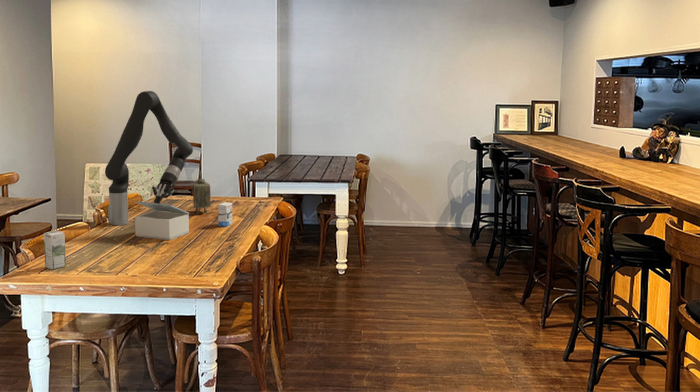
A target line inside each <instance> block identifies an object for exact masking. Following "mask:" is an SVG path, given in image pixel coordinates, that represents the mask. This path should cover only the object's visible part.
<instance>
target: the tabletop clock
mask: <svg viewBox="0 0 700 392" xmlns="http://www.w3.org/2000/svg"><path fill="white" fill-rule="evenodd" d="M202 176H203V175H202V170H200V171H199V178H197V179H196V182H192V195H193V197H192V200H193V201H192V202H193V203H192V205H193V208H194V210H195V211H196V215H199V214H200V210H201V209H202V208H203V209H204V210H203V212H204V213H207V212H208V211H207V209H206V208H208V207H211V203H212V202H211V185H210V183H208V182H206V180H205V179H204V178H203V177H202Z"/></svg>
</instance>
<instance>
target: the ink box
mask: <svg viewBox="0 0 700 392" xmlns="http://www.w3.org/2000/svg"><path fill="white" fill-rule="evenodd" d="M217 206H218V207H217V209H218V212H217V213H218V217H217V219H218V227H223V228H225V227H228V226H231V225H233V202H225V201H224V202H222V203H218V205H217Z"/></svg>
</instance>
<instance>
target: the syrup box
mask: <svg viewBox="0 0 700 392" xmlns="http://www.w3.org/2000/svg"><path fill="white" fill-rule="evenodd" d="M65 235H66V234H65V232H63V231H61V230H53V231H47V232H44V233H43V248H44V249H43V250H44V251H43V252H44V263H45V264H44V267H45V268H47V269H50V270H56V269H60V268H62V269H63V268H65V267H67V265H66V263H67V262H66V259H67V258H66V239H65V237H66V236H65Z"/></svg>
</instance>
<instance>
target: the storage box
mask: <svg viewBox="0 0 700 392" xmlns="http://www.w3.org/2000/svg"><path fill="white" fill-rule="evenodd" d="M189 215H190V213H189V214H184V213H174V212H165V211H156V210H153V211H149V212H146V213H143V214H139V215H135V216H134V223H135V225H134V226H135V227H134V228H135V237H139V238H146V239H148V238H149V239H155V240H163V241H171V240H175V239H178V238H180V237H183V236H186V235H188V234H190V221H189V219H190V216H189Z"/></svg>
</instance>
